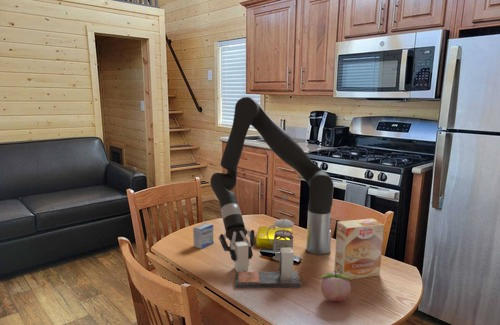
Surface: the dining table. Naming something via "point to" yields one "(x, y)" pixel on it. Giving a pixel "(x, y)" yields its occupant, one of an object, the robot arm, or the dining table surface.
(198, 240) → the medicine box
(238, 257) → the block
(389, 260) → the dining table surface
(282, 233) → the french press
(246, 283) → the grey stand
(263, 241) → the element tile
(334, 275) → the decorative fruit
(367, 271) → the coffeecake box
